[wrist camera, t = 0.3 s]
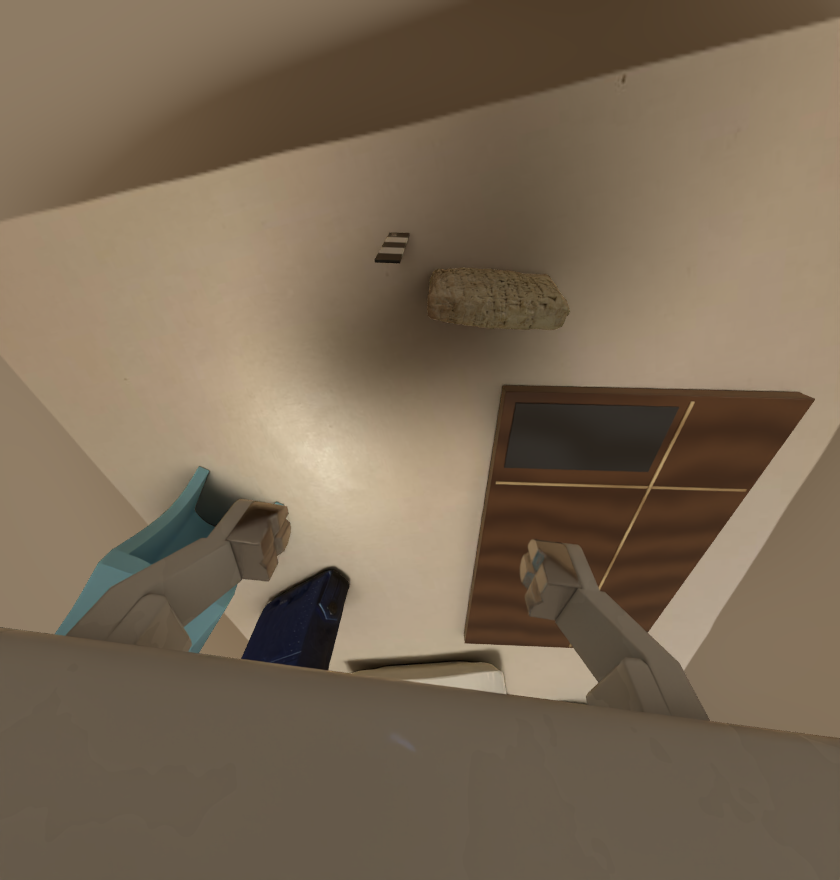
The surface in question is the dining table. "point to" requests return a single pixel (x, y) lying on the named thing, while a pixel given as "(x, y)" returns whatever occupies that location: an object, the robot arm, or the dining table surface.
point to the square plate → (446, 675)
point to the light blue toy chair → (155, 560)
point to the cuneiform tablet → (487, 295)
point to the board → (615, 491)
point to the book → (301, 624)
